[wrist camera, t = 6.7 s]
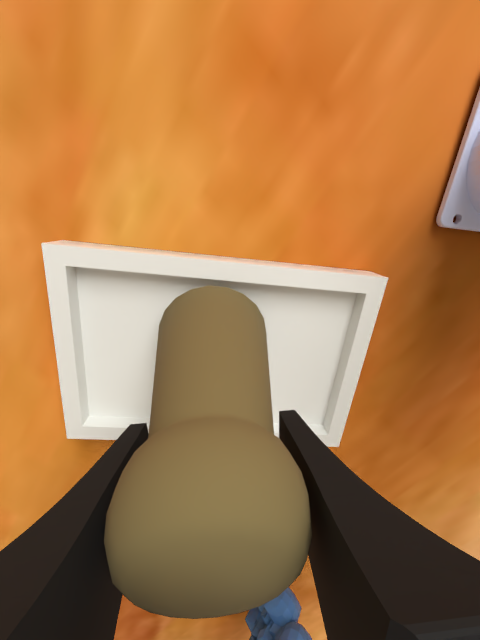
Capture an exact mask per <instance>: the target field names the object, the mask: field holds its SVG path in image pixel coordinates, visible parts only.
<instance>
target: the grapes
mask: <svg viewBox="0 0 480 640" xmlns="http://www.w3.org/2000/svg"><path fill="white" fill-rule="evenodd" d="M300 612H301V606H300V604H299V602H298V600H297V598H296V596H295V594H294V593H293V592H292V591H291V589H290V588H289V587H288V588H287V589H286V590H285V591H283V592H282V593H281V594H280V595H279V596H278V597H276V598H274V599H272V600H271V601H269V602H267V603H265V604H263V605H261V606H259V607H256V608H253V609H250V610H249V612H248V614H247V616H246V618H245V620H246V623H247V625H248V627H249V629H250V631H251V635H252V636H251V637H250V639H249V640H312V638H311V636H310V634H309V633H308V632H307V631H306V629H305V628H304V627H303V626H302V625H301V624H299V623H297V622H298V618H299V615H300Z"/></svg>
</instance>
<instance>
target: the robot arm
mask: <svg viewBox="0 0 480 640" xmlns="http://www.w3.org/2000/svg"><path fill="white" fill-rule="evenodd" d="M455 215H456V221H455V222H454V223H453V218H454V216H455ZM436 222H437V224H438V226H440V227H445V228H453V229H461V230H469V231H477V232H480V88H479V91H478V94H477V97H476V100H475V103H474V106H473V109H472V112H471V115H470V118H469V121H468V124H467V127H466V130H465V133H464V136H463V139H462V142H461V145H460V148H459V151H458V154H457V157H456V161H455V164H454V167H453V170H452V173H451V176H450V179H449V182H448V185H447V188H446V191H445V194H444V197H443V200H442V203H441V206H440V209H439V212H438V215H437V219H436ZM148 435H149V433H148V428H147V424H146V423H139V424H130V425H129V426H128V427H127V429H126V430H125V431H124V432H123V433H122V434H121V435H120V436H119V438H118V439H117V440H116V441H115V442H114V443H113V444H112V446H111V447H110V448H109V449H108V450H107V451H106V452H105V454H104V455H103V456H102V457H101V458H100V459H99V460H98V461H97V462H96V463H95V465H94V466H93V467H92V468H91V469H90V470H89V471H88V472H87V473H86V474H85V475H84V476H83V477H82V478H81V479H80V480H79V481H78V482H77V484H76V485H75V486H74V487H73V488H72V489H71V490H70V491H69V492H68V493H67V494H66V495H65V496H64V497H63V498H62V499H61V500H60V501H58V502H57V503H56V504H55V505H54V506H53V507H52V508H51V509H50V510H49V511H48V512H47V513H45V514H44V515H43V516H42V517H41V518H40V519H39V520H38V521H36V522H35V523H34V524H33V525H32V526H31V527H30V528H28V529H27V530H26V531H25V532H24V533H22V534H21V535H20V536H19V537H18V538H16V539H15V540H14V541H13V542H11V543H10V544H9V545H8V546H6V547H5V548H4V549H3V550H2V551H0V640H114V635H115V629H116V624H117V619H118V614H119V609H120V604H121V599H122V593H121V592H120V591H119V590H118V589H117V588H116V586H115V585H114V584H113V583H112V579H111V575H110V570H109V566H108V561H107V556H106V551H105V545H104V534H105V522H106V514H107V511H108V508H109V505H110V502H111V499H112V496H113V493H114V490H115V488H116V485H117V483H118V481H119V478H120V476H121V474H122V471H123V470H124V468H125V466H126V465H127V463H128V461H129V460H130V458H131V457H132V455H133V453H134V452H135V451H136V450H137V449H138V448H139V447H140V446H141V445H142V444H143V443H144V442H145V441H146V440H148ZM279 438H280V440H281V441H282V442H283V444H284V445H285V447H286V448H287V449H288V451H289V452H290V454H291V455H292V457H293V459H294V460H295V462H296V464H297V465H298V467H299V469H300V470H301V472H302V476H303V479H304V482H305V485H306V488H307V491H308V496H309V504H310V514H311V529H312V538H311V542H310V547H309V551H308V556H309V560H310V564H311V568H312V573H313V577H314V581H315V586H316V590H317V594H318V599H319V603H320V608H321V612H322V617H323V621H324V626H325V630H326V635H327V639H328V640H480V561H479V560H477V559H476V558H474V557H472V556H470V555H469V554H467V553H465V552H463V551H462V550H460V549H458V548H457V547H455V546H453V545H452V544H450V543H448V542H447V541H445V540H444V539H442V538H441V537H439V536H438V535H436V534H434V533H433V532H431V531H430V530H428V529H427V528H425V527H424V526H422V525H421V524H419V523H418V522H416V521H415V520H413V519H412V518H411V517H409V516H408V515H406V514H405V513H404V512H402V511H401V510H400V509H398V508H397V507H395V506H394V505H393V504H391V503H390V502H388V501H387V500H386V499H385V498H383V497H382V496H381V495H379V494H378V493H377V492H376V491H374V490H373V489H372V488H371V487H370V486H368V485H367V484H366V483H365V482H364V481H362V480H361V479H360V478H359V477H358V476H357V475H356V474H355V473H353V472H352V471H351V470H350V469H349V468H348V467H347V466H346V465H345V464H344V463H343V462H342V461H341V460H340V459H339V458H338V457H337V456H336V455H335V454H334V453H333V452H332V451H331V450H330V449H329V448H328V447H327V446H326V445H325V444H324V443H323V442H322V441H321V440H320V439H319V438H318V436H317V435H316V434H315V433H314V432H313V431H312V430H311V428H310V427H309V426H308V425H307V424H306V423H305V421H304V420H303V419H302V418H301V417H300V415H299V414H298V413H297V412H296V411H295V410H285V411H279Z"/></svg>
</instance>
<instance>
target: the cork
mask: <svg viewBox="0 0 480 640" xmlns="http://www.w3.org/2000/svg"><path fill="white" fill-rule="evenodd" d="M311 538H312V529H311V514H310V504H309V496H308V491H307V488H306V485H305V482H304V479H303V476H302V472H301V470H300V469H299V467H298V465H297V464H296V462H295V460H294V459H293V457H292V455H291V454H290V452H289V451H288V449H287V448H286V447H285V445H284V444H283V442H282V441H281V440H280V438H278V437H277V436H275V435H274V427H273V414H272V401H271V388H270V375H269V361H268V348H267V335H266V328H265V322H264V317H263V316H262V314H261V312H260V310H259V309H258V307H257V305H256V304H255V303H254V302H252V301H251V300H250V299H249V298H248V297H247V296H245V295H244V294H243V293H240V292H238V291H235V290H233V289H231V288H228V287H221V286H210V285H209V286H204V287H199V288H194V289H190V290H189V291H187V292H185V293H183V294H182V295H180V296H178V297H176V298H175V299H174V300H173V301H172V303H171V304H170V305H169V306H168V307H167V308H166V309H165V311H164V313H163V316H162V319H161V321H160V324H159V331H158V342H157V352H156V362H155V373H154V383H153V394H152V404H151V415H150V425H149V435H148V440H146V441H145V442H144V443H143V444H142V445H141V446H140V447H139V448H138V449H137V450H136V451H135V452H134V453H133V455H132V457H131V458H130V460H129V461H128V463H127V465H126V466H125V468H124V470H123V471H122V474H121V476H120V478H119V481H118V483H117V485H116V488H115V490H114V493H113V496H112V499H111V502H110V505H109V508H108V511H107V514H106V522H105V534H104V545H105V551H106V556H107V561H108V566H109V570H110V575H111V579H112V583H113V584H114V585H115V586H116V588H117V589H118V590H119V591H120V592H121V593H122V594H123V595H124V596H125V597H126V598H127V599H128V600H130V601H131V602H132V603H133V604H134V605H136V606H138V607H140V608H142V609H144V610H146V611H148V612H150V613H155V614H159V615H163V616H168V617H175V618H190V619H198V618H214V617H221V616H226V615H231V614H237V613H241V612H244V611H247V610H250V609H253V608H256V607H259V606H261V605H263V604H265V603H267V602H269V601H271V600H272V599H274V598H276V597H278V596H279V595H280V594H281V593H282V592H283V591H285V590H286V589H287V588H288V587H289V586H290V585H291V584H292V583H293V582H294V580H295V579H296V578H297V577H298V576H299V575H300V573H301V571H302V569H303V567H304V565H305V562H306V560H307V556H308V551H309V547H310V542H311Z"/></svg>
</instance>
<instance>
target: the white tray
mask: <svg viewBox="0 0 480 640" xmlns="http://www.w3.org/2000/svg"><path fill="white" fill-rule="evenodd" d="M41 244H42V251H43V259H44V267H45V274H46V282H47V290H48V297H49V305H50V312H51V320H52V328H53V335H54V343H55V351H56V358H57V366H58V373H59V381H60V389H61V396H62V404H63V412H64V419H65V427H66V434H67V439H99V440H117V439H118V438H119V436H120V435H121V434H122V433H123V432H124V431H125V430H126V429H127V427H128V426H129V425H130V424H139V423H146V424H147V428H148V433H149V425H150V415H151V404H152V394H153V383H154V373H155V362H156V352H157V342H158V331H159V324H160V321H161V319H162V316H163V313H164V311H165V309H166V308H167V307H168V306H169V305H170V304H171V303H172V301H173V300H174V299H175V298H176V297H178V296H180V295H182V294H183V293H185V292H187V291H189V290H190V289H194V288H199V287H204V286H209V285H210V286H221V287H228V288H231V289H233V290H235V291H238V292H240V293H243V294H244V295H245V296H247V297H248V298H249V299H250V300H251V301H252V302H254V303H255V304H256V305H257V307H258V309H259V310H260V312H261V314H262V316H263V317H264V322H265V328H266V335H267V348H268V361H269V375H270V388H271V401H272V414H273V427H274V435H275V436H277V437H278V438H279V411H285V410H295V411H296V412H297V413H298V414H299V415H300V417H301V418H302V419H303V420H304V421H305V423H306V424H307V425H308V426H309V427H310V428H311V430H312V431H313V432H314V433H315V434H316V435H317V436H318V438H319V439H320V440H321V441H322V442H323V443H324V444H325V445H326V446H327V447H339V444H340V441H341V437H342V434H343V430H344V427H345V424H346V420H347V417H348V413H349V410H350V407H351V403H352V400H353V396H354V393H355V390H356V386H357V383H358V379H359V376H360V373H361V369H362V366H363V362H364V359H365V356H366V352H367V349H368V345H369V342H370V339H371V335H372V332H373V329H374V325H375V322H376V318H377V315H378V312H379V308H380V305H381V301H382V298H383V295H384V291H385V288H386V284H387V281H388V277H385V276H382V275H379V274H376V273H373V272H370V271H362V270H352V269H342V268H333V267H323V266H313V265H303V264H293V263H283V262H274V261H264V260H254V259H244V258H234V257H224V256H215V255H205V254H195V253H185V252H175V251H165V250H156V249H146V248H136V247H126V246H116V245H107V244H97V243H87V242H77V241H67V240H60V241H53V242H46V243H41Z"/></svg>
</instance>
